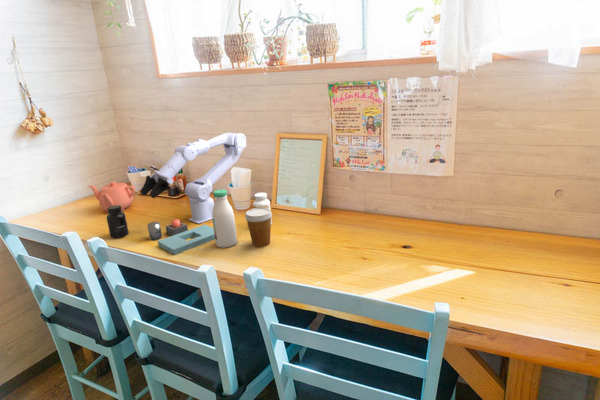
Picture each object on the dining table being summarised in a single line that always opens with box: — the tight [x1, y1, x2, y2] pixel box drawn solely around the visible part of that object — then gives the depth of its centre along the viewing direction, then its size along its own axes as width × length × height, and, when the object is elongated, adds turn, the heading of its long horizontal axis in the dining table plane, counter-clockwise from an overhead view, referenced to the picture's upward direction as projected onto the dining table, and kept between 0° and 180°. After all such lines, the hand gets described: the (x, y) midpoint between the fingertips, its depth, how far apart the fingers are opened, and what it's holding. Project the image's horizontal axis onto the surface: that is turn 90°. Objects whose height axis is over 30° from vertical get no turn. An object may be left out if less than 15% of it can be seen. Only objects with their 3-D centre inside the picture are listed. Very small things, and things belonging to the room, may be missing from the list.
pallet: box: [157, 224, 215, 256], centre depth 152 cm, size 20×12×2 cm, turn 135°
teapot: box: [88, 181, 136, 214], centre depth 193 cm, size 16×17×14 cm
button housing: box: [165, 221, 189, 237], centre depth 160 cm, size 6×6×3 cm
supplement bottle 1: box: [106, 205, 129, 239], centre depth 160 cm, size 7×7×12 cm
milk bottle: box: [211, 189, 238, 249], centre depth 144 cm, size 8×8×20 cm
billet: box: [147, 221, 163, 242], centre depth 156 cm, size 4×4×6 cm
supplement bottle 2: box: [252, 192, 273, 225], centre depth 161 cm, size 7×7×13 cm
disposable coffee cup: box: [244, 207, 273, 248], centre depth 144 cm, size 10×10×12 cm
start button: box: [170, 218, 181, 228], centre depth 160 cm, size 3×3×4 cm
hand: (146, 195), depth 153 cm, fingers open, 7 cm apart
